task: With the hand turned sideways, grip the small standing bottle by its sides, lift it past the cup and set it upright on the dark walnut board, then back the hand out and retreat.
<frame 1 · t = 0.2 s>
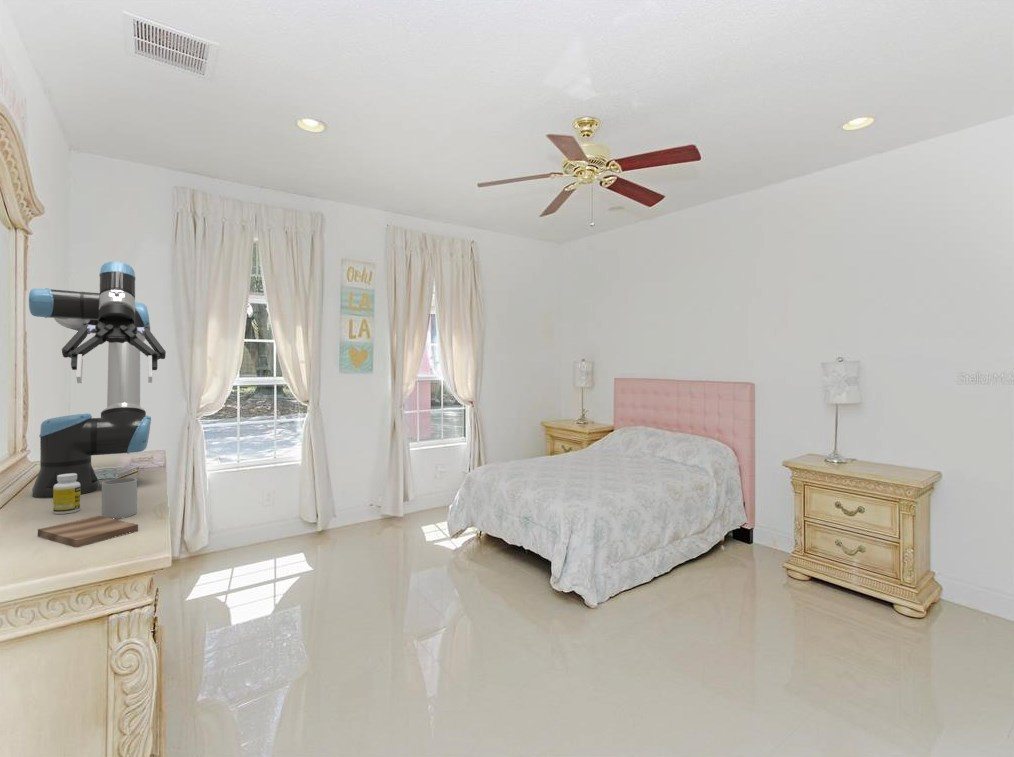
hand: (115, 380, 121), 35 cm above the table, tool tilted 35°, fingers open, 13 cm apart
walnut board: (88, 533, 115), on the table
cup: (119, 514, 130), on the table
supplement bottle: (67, 512, 132), on the table
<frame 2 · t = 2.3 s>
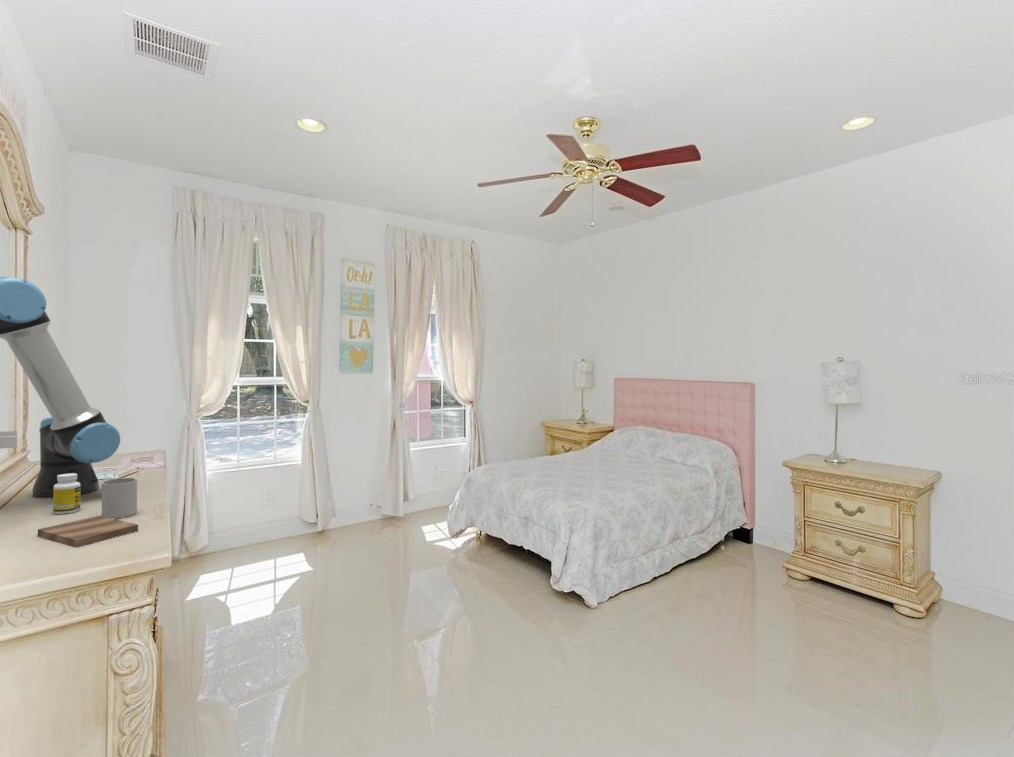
hand: (17, 438, 125), 20 cm above the table, tool horizontal, fingers open, 13 cm apart
nothing on the table moved.
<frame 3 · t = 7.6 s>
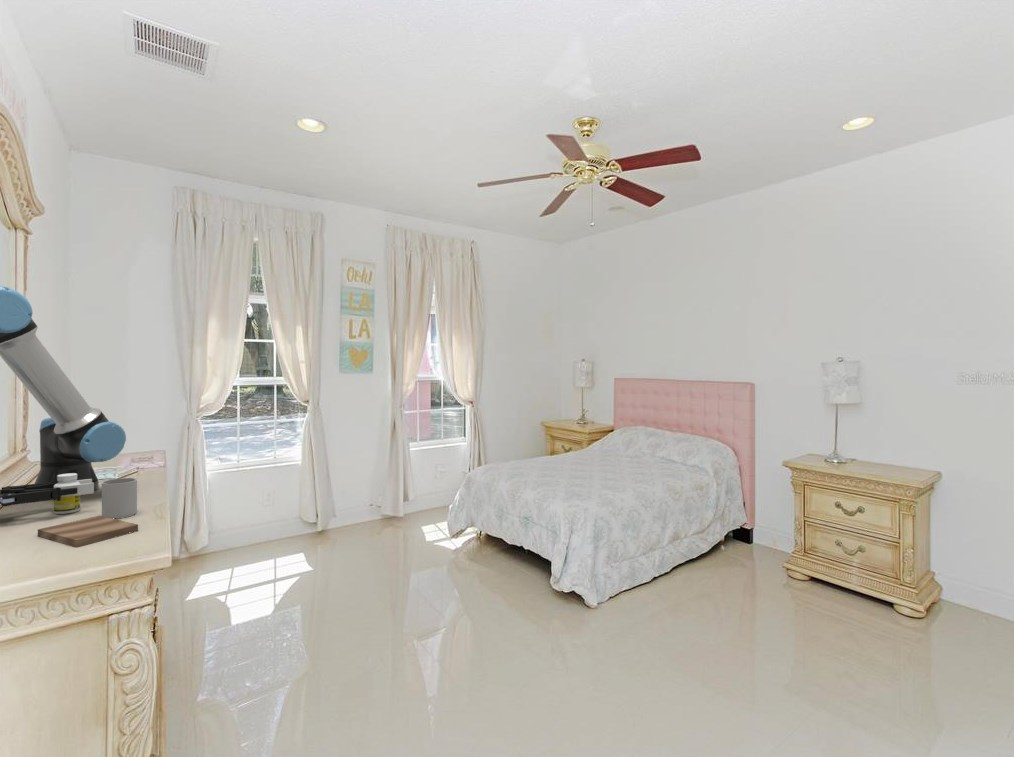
hand: (92, 485, 135), 6 cm above the table, tool horizontal, fingers closed on supplement bottle, 5 cm apart
supplement bottle: (67, 512, 132), on the table, touching gripper
everything else where it was.
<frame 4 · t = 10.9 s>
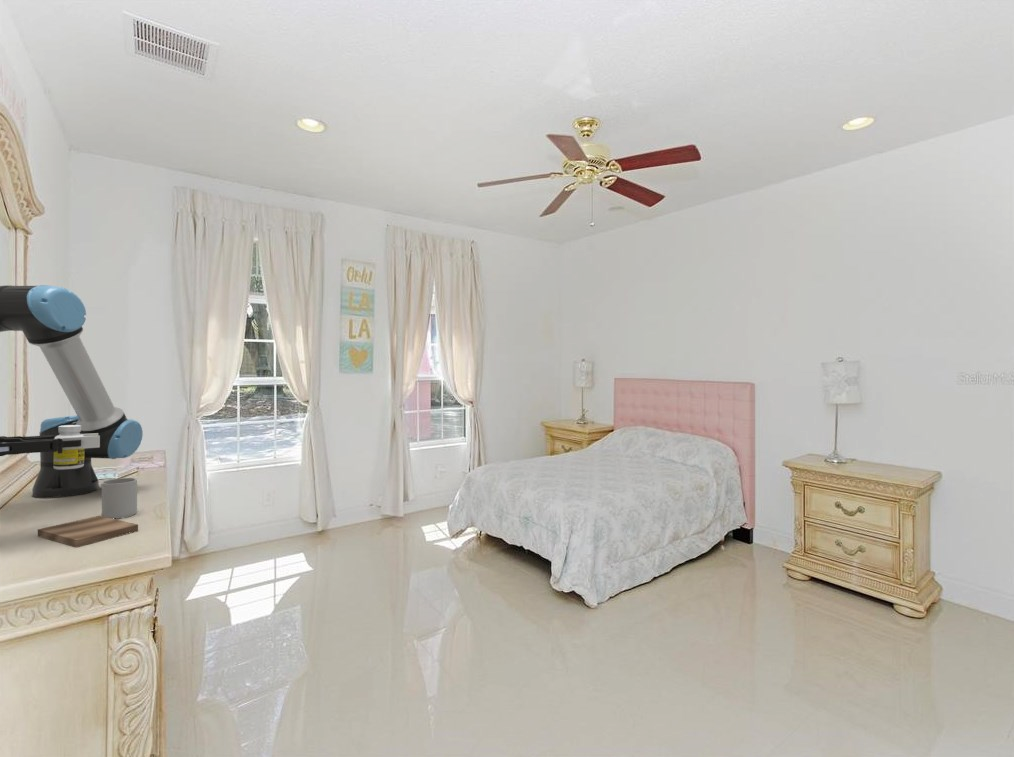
hand: (98, 440, 120), 21 cm above the table, tool horizontal, fingers closed on supplement bottle, 5 cm apart
supplement bottle: (69, 468, 116), point 15 cm above the table, touching gripper
everything else where it was.
when the fingers open (9 cm above the table, at t = 14.2 s): supplement bottle drops 1 cm, resting on walnut board.
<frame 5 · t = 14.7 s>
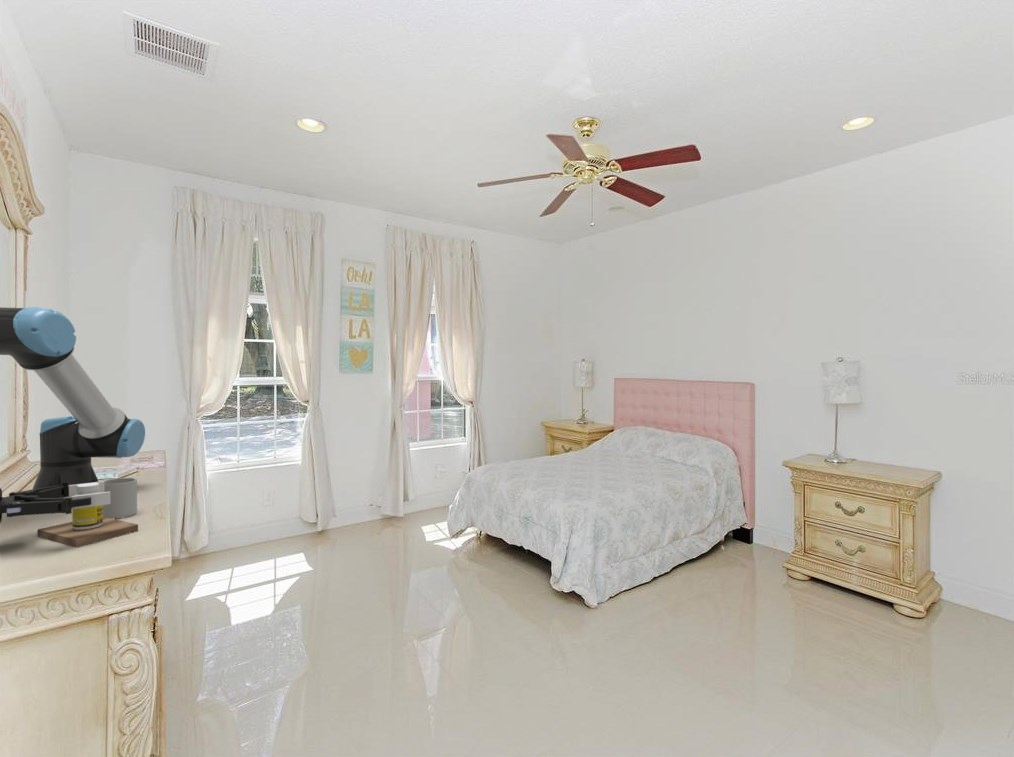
hand: (107, 492, 117), 9 cm above the table, tool horizontal, fingers open, 13 cm apart
supplement bottle: (88, 527, 115), point 1 cm above the table, touching walnut board
everything else where it was.
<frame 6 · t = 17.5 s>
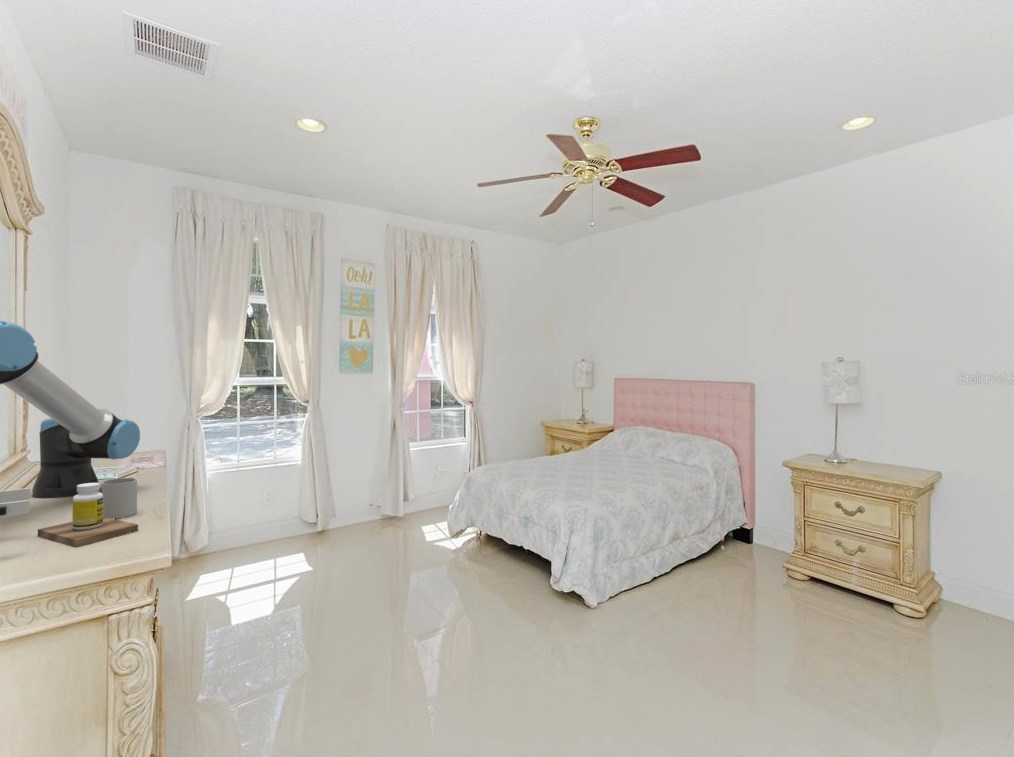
hand: (29, 499, 108), 9 cm above the table, tool horizontal, fingers open, 13 cm apart
nothing on the table moved.
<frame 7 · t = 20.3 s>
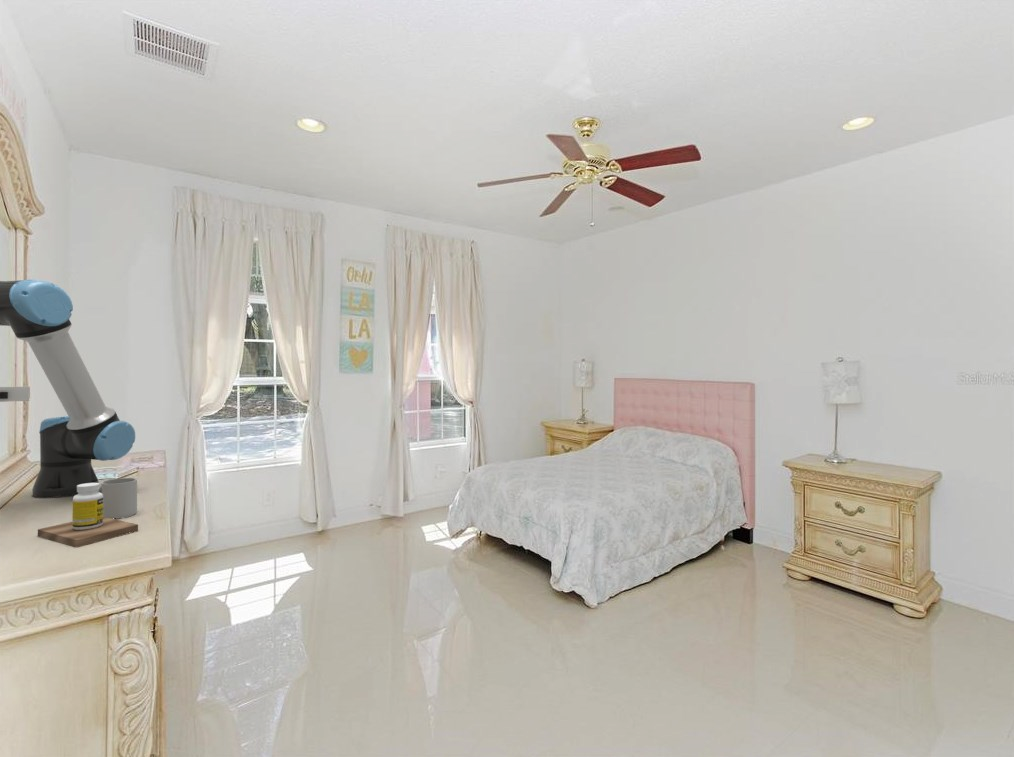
hand: (30, 393, 116), 32 cm above the table, tool horizontal, fingers open, 13 cm apart
nothing on the table moved.
at the end: supplement bottle inside the target area on the walnut board (0.1 cm from its centre), point 1.3 cm above the walnut board's base; supplement bottle tilted 0°; the gripper is holding nothing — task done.
